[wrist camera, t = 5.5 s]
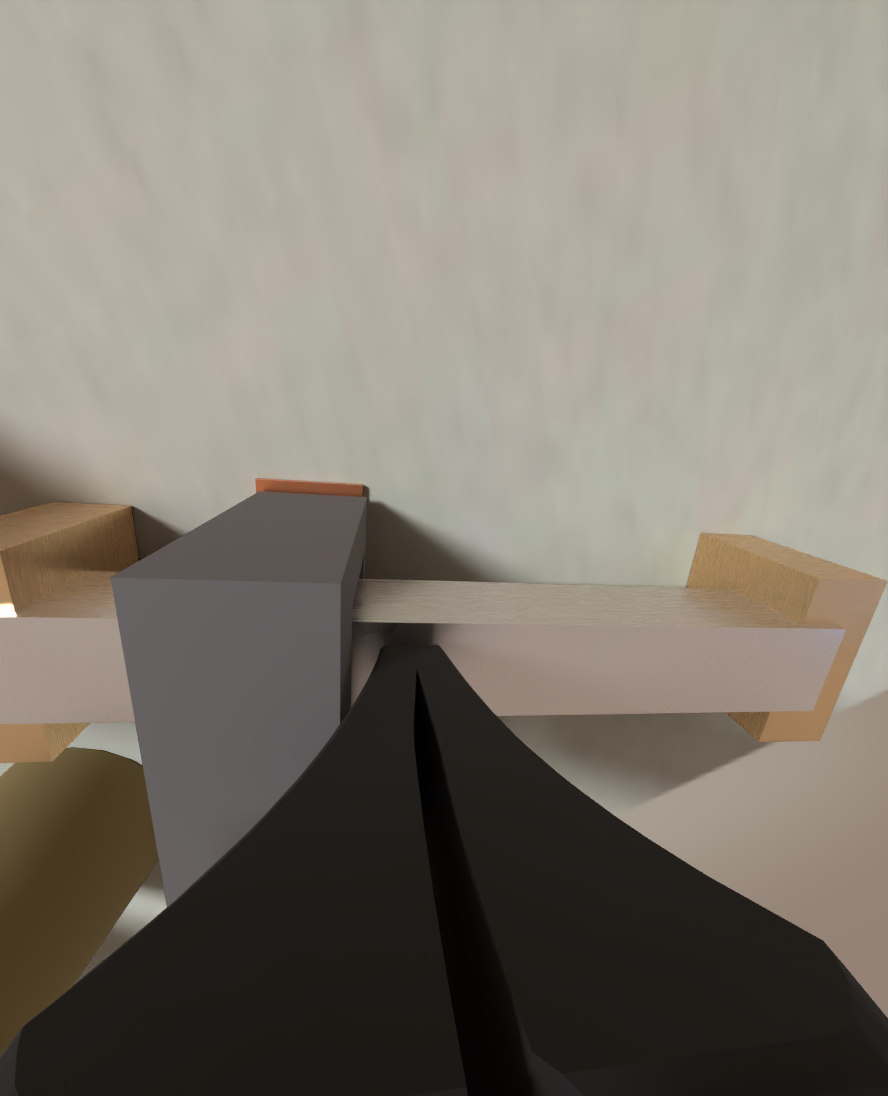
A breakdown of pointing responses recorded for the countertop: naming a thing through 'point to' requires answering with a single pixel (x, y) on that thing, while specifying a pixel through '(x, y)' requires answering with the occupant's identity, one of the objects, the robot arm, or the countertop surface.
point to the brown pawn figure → (65, 871)
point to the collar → (238, 664)
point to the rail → (462, 632)
